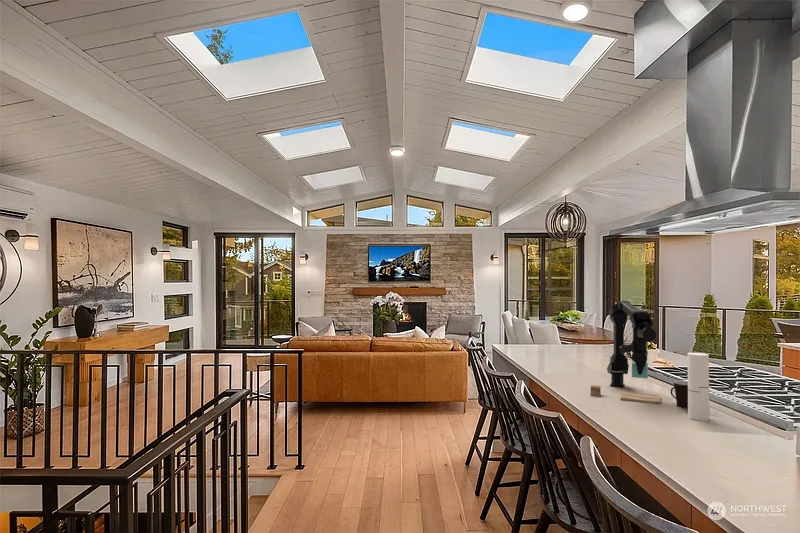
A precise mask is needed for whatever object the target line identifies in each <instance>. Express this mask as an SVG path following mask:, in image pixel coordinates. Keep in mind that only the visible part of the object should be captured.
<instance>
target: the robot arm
mask: <svg viewBox="0 0 800 533" xmlns="http://www.w3.org/2000/svg"><path fill="white" fill-rule="evenodd" d="M608 314H609V320H610V321H611V323H612V324H613V353H612V355H611V356H610V358H609V363H608V366H607V367H606V370H607V373H608V374H610V375H611V376H610V377H611V381H610V384H609V385H610V387H620V388H624V387H625V385H626V384H625V383H624V375H629V374H628V373H629V368H630V365H629V360H628V358H627V357H626V355H625V354H626V353H630V352H631V361H632V362H635V363H636V366H637V370H638V374H639V375H641V374H642V371H643V369H644V367H645V364H646V363H648V354H649V353H648V351H649V350H648V347H647V346H648V343H647V342H653V341H655V339H656V337H657V333H656V330H655V329H653V320H652V319H651V317H650V314H649V312H648V311H647V310H644V309H638V308H637V307H636V305H635V306H634V305H633V304H632V303H631V301H628V300H619V301H617V303H615V304H614V305H612V306H611V307H610V308H609V311H608ZM628 316H629V321H630V322H631V324H632V325H631V328H632V341H631V343H628V344H625V338H624V337H625V335H624V334H625V327H624V326H625V325H626V322H627V321H628Z"/></svg>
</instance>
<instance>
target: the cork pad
mask: <svg viewBox="0 0 800 533" xmlns="http://www.w3.org/2000/svg"><path fill="white" fill-rule="evenodd" d="M619 400H620V401H625V400H628V401H627V402H635V401H638V402H637V403H645V402H647V403H648V404H655V403H658V404H657V405H661V404H662V402H661V394H660V395H659V394H649V393H640V392H639V393H637V392H629V391H628V392H626V391H622V392H621V394H620V399H619ZM647 403H646V404H647Z"/></svg>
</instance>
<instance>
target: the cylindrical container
mask: <svg viewBox="0 0 800 533" xmlns="http://www.w3.org/2000/svg"><path fill="white" fill-rule="evenodd" d="M709 358H710V356H709V353H704V352H687V382H688V409H687V418H688V419H690V420H695V421H700V420H702V422H703V421H705V422H707V421H709V420H710V363H709V362H710V361H709V360H710V359H709Z"/></svg>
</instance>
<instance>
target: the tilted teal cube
mask: <svg viewBox="0 0 800 533" xmlns="http://www.w3.org/2000/svg"><path fill="white" fill-rule="evenodd" d="M648 364H649V363H648V362H646V364H645V367H644V369H643V371H642V374H641V375H639V374H638V370H637V366H636V363H635V362H634V361H632V362H631V377H632V378H638V379H648V378H649V366H648Z"/></svg>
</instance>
